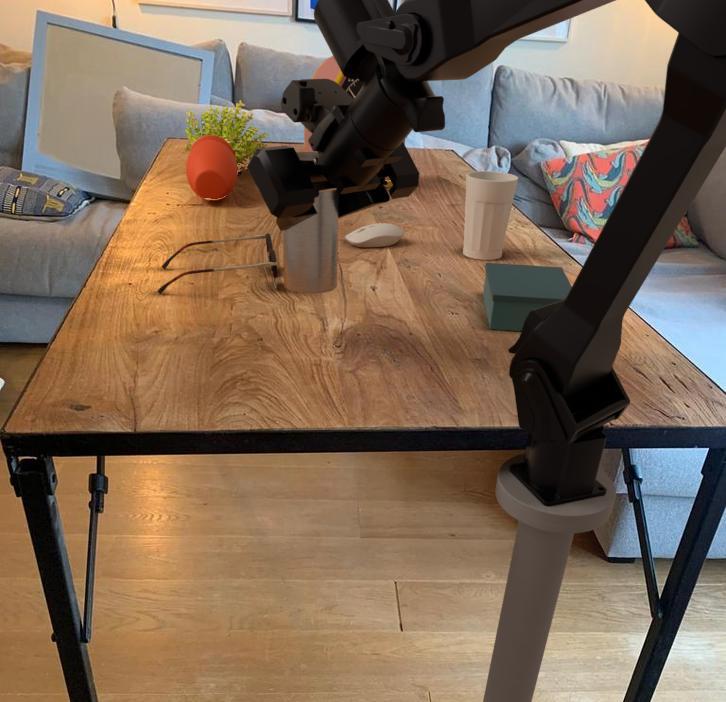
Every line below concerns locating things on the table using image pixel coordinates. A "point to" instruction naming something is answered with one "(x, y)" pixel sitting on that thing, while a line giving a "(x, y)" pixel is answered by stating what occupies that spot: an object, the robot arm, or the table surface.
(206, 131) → the potted plant
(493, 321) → the lidded box
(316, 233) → the flask
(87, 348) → the table surface
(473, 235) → the cup
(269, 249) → the sunglasses
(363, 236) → the computer mouse
